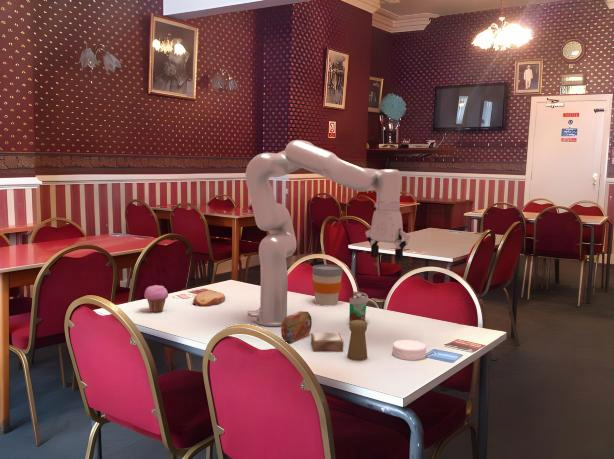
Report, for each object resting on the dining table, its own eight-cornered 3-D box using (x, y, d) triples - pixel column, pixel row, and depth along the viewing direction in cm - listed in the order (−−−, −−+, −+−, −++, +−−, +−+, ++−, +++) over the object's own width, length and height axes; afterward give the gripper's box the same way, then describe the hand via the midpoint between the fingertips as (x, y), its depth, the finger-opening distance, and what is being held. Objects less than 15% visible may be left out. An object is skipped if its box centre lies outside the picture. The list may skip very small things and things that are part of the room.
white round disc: (389, 350, 182) (389, 339, 181) (421, 350, 182) (421, 339, 182) (396, 361, 172) (396, 349, 171) (429, 361, 172) (430, 349, 172)
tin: (287, 345, 184) (287, 318, 183) (278, 343, 186) (279, 317, 185) (312, 334, 197) (312, 309, 196) (304, 332, 198) (304, 308, 198)
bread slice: (214, 294, 255) (214, 286, 255) (239, 302, 242) (239, 293, 241) (177, 300, 243) (177, 291, 243) (201, 308, 230) (201, 299, 229)
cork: (345, 354, 176) (346, 318, 175) (365, 353, 177) (366, 318, 176) (348, 360, 170) (349, 323, 169) (369, 360, 171) (370, 323, 170)
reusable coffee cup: (306, 301, 245) (306, 265, 243) (332, 298, 250) (333, 263, 248) (319, 307, 233) (320, 270, 232) (347, 305, 239) (348, 268, 237)
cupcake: (168, 313, 220) (168, 287, 219) (144, 314, 218) (143, 287, 217) (168, 307, 228) (167, 282, 227) (144, 308, 226) (144, 283, 225)
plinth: (313, 351, 178) (313, 340, 178) (311, 342, 187) (311, 332, 187) (343, 351, 179) (343, 340, 179) (339, 342, 188) (339, 332, 187)
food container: (366, 327, 206) (367, 299, 205) (348, 326, 207) (349, 298, 206) (369, 318, 218) (370, 292, 217) (353, 317, 219) (353, 291, 218)
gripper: (360, 206, 196) (358, 257, 198) (403, 209, 184) (401, 263, 186) (373, 205, 201) (372, 254, 203) (416, 208, 189) (415, 261, 191)
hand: (386, 258), depth 194 cm, fingers open, 9 cm apart
